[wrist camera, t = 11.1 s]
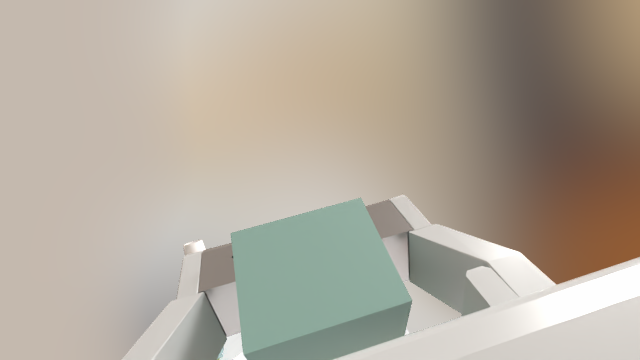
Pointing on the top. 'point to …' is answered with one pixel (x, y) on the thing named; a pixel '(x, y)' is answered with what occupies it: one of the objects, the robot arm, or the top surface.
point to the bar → (317, 286)
